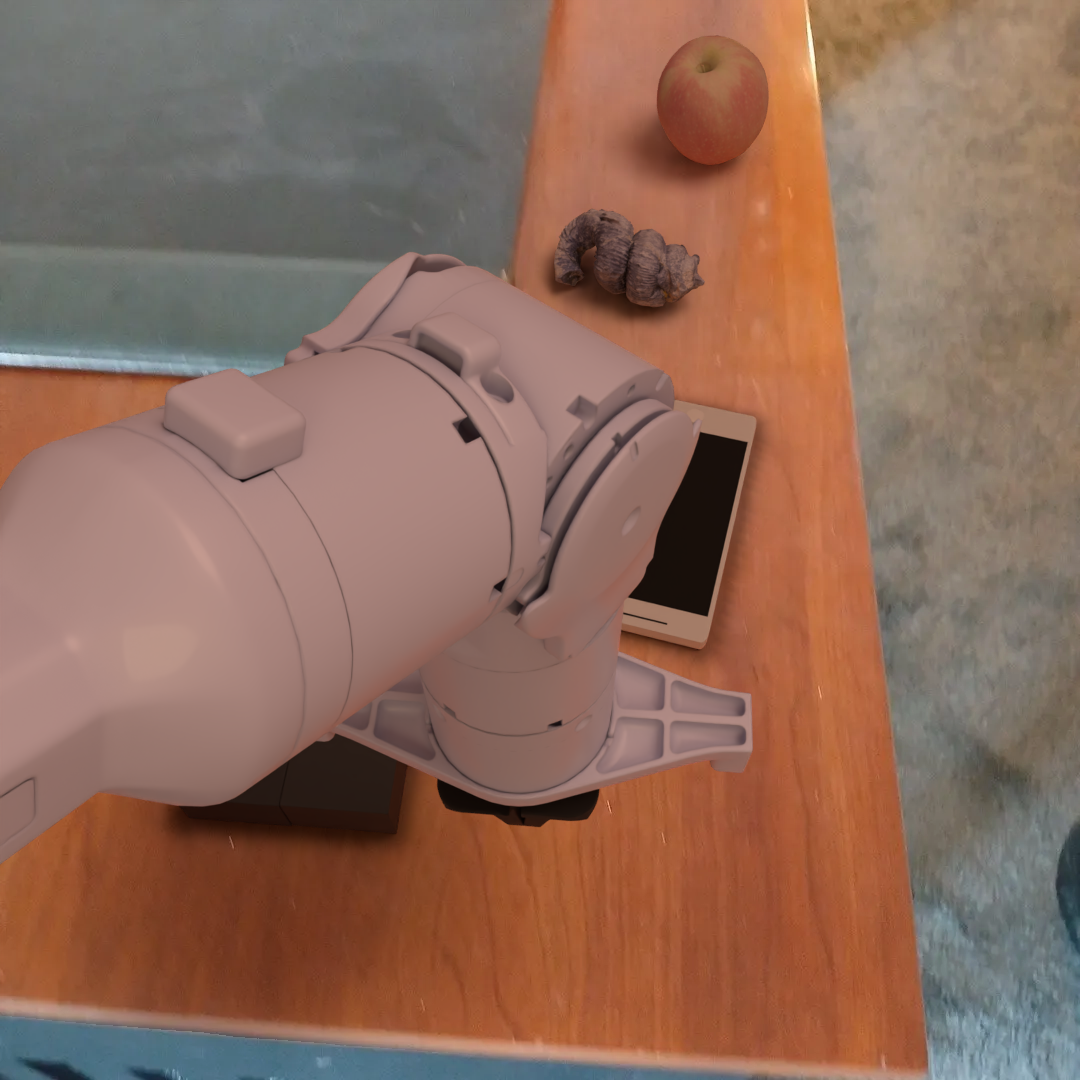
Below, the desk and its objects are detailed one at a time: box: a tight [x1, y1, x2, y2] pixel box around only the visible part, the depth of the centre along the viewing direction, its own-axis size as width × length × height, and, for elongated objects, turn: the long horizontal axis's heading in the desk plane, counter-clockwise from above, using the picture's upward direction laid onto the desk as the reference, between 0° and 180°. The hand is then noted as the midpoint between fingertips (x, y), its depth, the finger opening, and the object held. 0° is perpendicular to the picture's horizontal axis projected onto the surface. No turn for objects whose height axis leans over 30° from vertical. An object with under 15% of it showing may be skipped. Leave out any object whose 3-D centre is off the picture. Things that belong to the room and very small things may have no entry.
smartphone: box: [621, 399, 757, 650], centre depth 59 cm, size 7×16×1 cm, turn 164°
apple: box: [656, 35, 770, 166], centre depth 73 cm, size 8×8×8 cm
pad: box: [279, 733, 408, 835], centre depth 51 cm, size 8×5×3 cm, turn 175°
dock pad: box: [178, 760, 293, 827], centre depth 51 cm, size 8×5×3 cm, turn 175°
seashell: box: [553, 208, 706, 308], centre depth 67 cm, size 5×5×10 cm
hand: (527, 800), depth 41 cm, fingers closed
